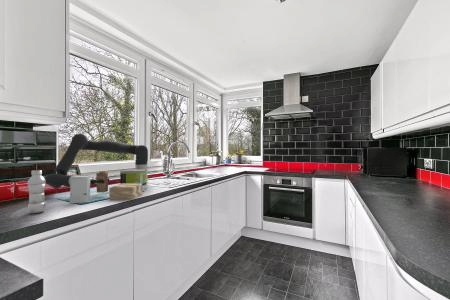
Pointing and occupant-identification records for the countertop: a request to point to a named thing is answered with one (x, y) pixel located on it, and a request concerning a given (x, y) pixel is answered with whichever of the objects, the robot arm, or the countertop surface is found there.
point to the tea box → (133, 177)
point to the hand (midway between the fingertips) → (106, 180)
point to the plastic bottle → (36, 192)
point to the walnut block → (102, 186)
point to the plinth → (125, 191)
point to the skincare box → (80, 189)
